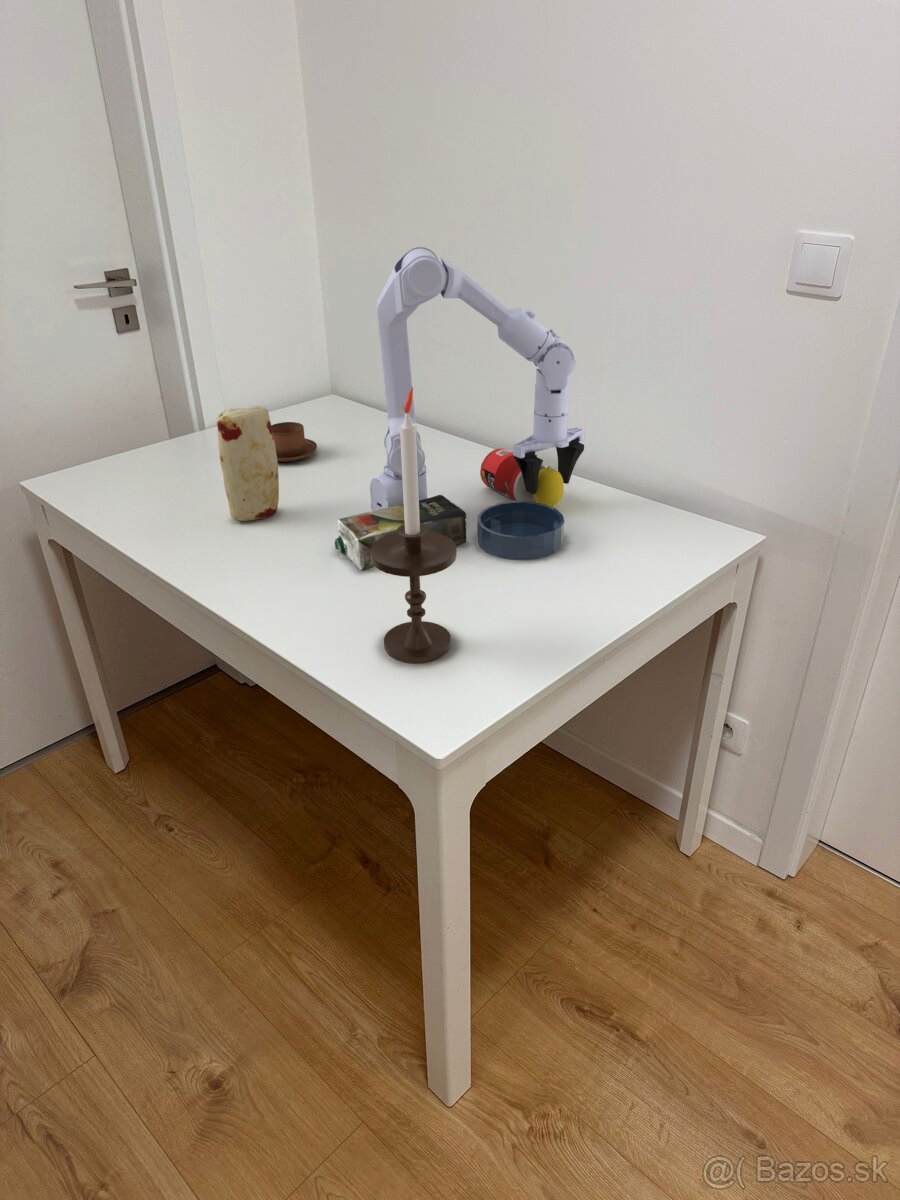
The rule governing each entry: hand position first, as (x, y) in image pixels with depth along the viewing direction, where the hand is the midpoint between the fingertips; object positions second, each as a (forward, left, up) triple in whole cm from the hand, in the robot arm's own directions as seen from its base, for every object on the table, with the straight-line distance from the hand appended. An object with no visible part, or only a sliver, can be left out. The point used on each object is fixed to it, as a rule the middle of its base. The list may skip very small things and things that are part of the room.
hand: (547, 486), depth 149 cm
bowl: (-12, -7, -4) cm, 14 cm away
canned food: (-1, +14, 0) cm, 14 cm away
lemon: (0, 0, -4) cm, 4 cm away
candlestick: (-43, -23, -4) cm, 49 cm away
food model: (-43, +29, -4) cm, 52 cm away
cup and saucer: (-25, +53, -4) cm, 59 cm away
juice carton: (-29, +3, -4) cm, 29 cm away
